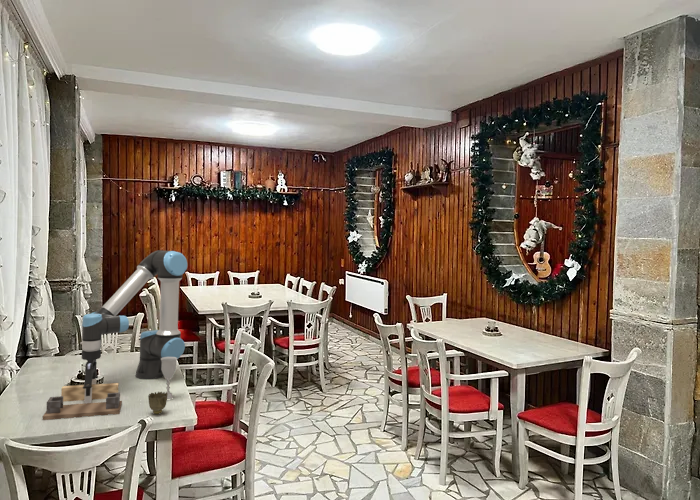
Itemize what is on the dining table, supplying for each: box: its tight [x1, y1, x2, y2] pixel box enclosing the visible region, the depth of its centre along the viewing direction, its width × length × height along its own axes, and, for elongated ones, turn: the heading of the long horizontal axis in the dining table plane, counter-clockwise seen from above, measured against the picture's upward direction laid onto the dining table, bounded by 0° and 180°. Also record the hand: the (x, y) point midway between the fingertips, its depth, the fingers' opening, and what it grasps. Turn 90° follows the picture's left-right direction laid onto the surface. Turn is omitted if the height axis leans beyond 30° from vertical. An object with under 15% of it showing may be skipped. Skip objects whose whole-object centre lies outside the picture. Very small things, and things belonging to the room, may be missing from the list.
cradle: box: [42, 391, 123, 421], centre depth 203 cm, size 27×12×6 cm, turn 110°
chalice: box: [161, 357, 178, 400], centre depth 222 cm, size 7×7×18 cm
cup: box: [147, 391, 168, 415], centre depth 204 cm, size 8×7×8 cm
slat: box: [60, 382, 120, 403], centre depth 218 cm, size 22×3×6 cm, turn 110°
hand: (90, 398), depth 218 cm, fingers open, 12 cm apart
